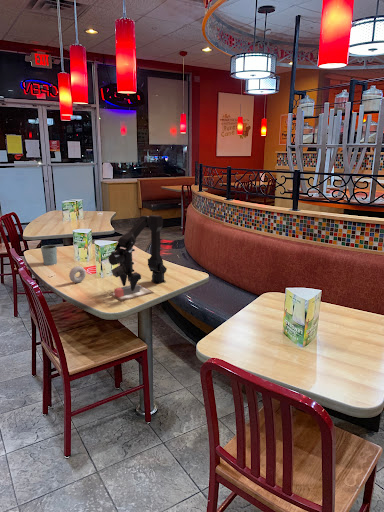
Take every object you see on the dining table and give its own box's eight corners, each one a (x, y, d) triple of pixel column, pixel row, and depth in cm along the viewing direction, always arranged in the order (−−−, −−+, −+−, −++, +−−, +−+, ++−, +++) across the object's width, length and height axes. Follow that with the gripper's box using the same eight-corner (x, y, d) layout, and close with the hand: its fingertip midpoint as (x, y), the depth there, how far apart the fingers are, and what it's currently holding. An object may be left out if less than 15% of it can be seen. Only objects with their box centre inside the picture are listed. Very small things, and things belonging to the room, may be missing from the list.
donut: (71, 285, 220) (70, 268, 217) (69, 283, 222) (67, 267, 220) (87, 281, 227) (86, 265, 224) (84, 279, 229) (83, 264, 226)
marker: (139, 289, 212) (138, 282, 211) (142, 291, 209) (142, 284, 208) (114, 295, 203) (114, 288, 202) (118, 297, 201) (117, 290, 199)
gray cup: (52, 260, 267) (50, 244, 264) (61, 263, 262) (59, 246, 258) (39, 264, 260) (37, 247, 256) (48, 266, 254) (46, 249, 251)
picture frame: (141, 286, 218) (141, 285, 218) (153, 292, 209) (153, 291, 209) (109, 294, 207) (109, 293, 206) (121, 301, 197) (121, 300, 197)
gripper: (104, 259, 203) (106, 286, 208) (121, 267, 189) (123, 296, 194) (123, 255, 210) (124, 282, 214) (141, 263, 196) (142, 291, 200)
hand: (128, 288), depth 205 cm, fingers open, 9 cm apart
